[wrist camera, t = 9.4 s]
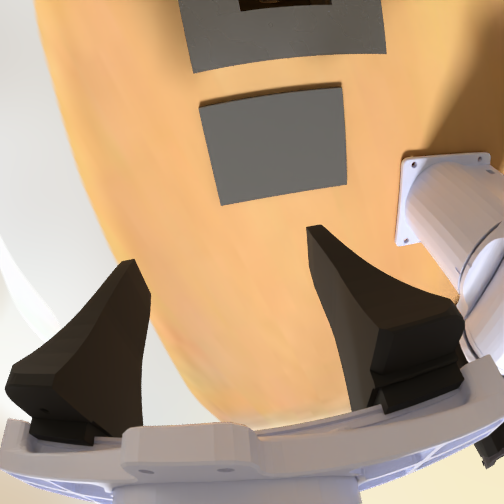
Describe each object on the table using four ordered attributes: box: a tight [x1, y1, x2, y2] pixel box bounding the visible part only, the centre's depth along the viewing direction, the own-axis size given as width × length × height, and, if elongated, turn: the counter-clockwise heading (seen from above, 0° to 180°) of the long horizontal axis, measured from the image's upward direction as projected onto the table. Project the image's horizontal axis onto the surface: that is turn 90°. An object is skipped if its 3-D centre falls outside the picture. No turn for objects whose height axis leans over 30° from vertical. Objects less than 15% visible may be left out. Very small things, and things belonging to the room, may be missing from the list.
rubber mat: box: [199, 87, 347, 206], centre depth 20 cm, size 9×7×1 cm
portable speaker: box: [455, 313, 504, 469], centre depth 28 cm, size 9×9×20 cm
